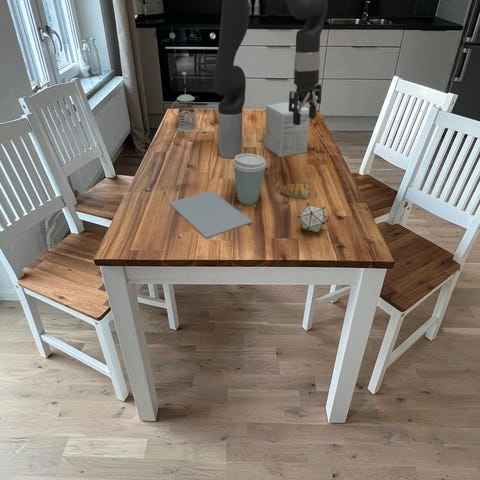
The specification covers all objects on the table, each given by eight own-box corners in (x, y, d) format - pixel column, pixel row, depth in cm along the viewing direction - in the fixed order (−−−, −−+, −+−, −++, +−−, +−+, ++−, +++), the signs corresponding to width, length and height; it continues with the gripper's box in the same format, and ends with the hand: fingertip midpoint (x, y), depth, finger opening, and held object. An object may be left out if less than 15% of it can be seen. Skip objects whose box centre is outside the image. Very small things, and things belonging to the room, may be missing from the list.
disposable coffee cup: (248, 189, 142) (249, 148, 134) (271, 200, 136) (274, 157, 128) (225, 199, 136) (225, 157, 128) (249, 211, 130) (250, 167, 121)
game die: (303, 238, 124) (292, 207, 124) (331, 229, 123) (320, 197, 123) (305, 241, 115) (293, 207, 115) (334, 231, 114) (322, 196, 114)
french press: (197, 132, 189) (194, 74, 175) (171, 131, 189) (166, 74, 175) (199, 125, 197) (196, 69, 183) (174, 124, 197) (170, 69, 183)
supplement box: (307, 152, 170) (311, 109, 161) (279, 157, 166) (282, 114, 156) (290, 141, 180) (293, 100, 170) (263, 146, 175) (265, 104, 166)
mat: (168, 203, 134) (168, 202, 133) (211, 191, 141) (211, 190, 141) (206, 238, 117) (206, 237, 117) (252, 222, 125) (252, 221, 124)
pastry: (279, 197, 138) (279, 187, 136) (281, 188, 144) (282, 178, 142) (307, 200, 137) (308, 190, 135) (308, 191, 142) (309, 181, 140)
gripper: (309, 63, 132) (307, 114, 140) (282, 70, 123) (281, 124, 131) (330, 65, 127) (326, 118, 136) (303, 72, 118) (301, 128, 127)
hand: (304, 121), depth 133 cm, fingers open, 8 cm apart
